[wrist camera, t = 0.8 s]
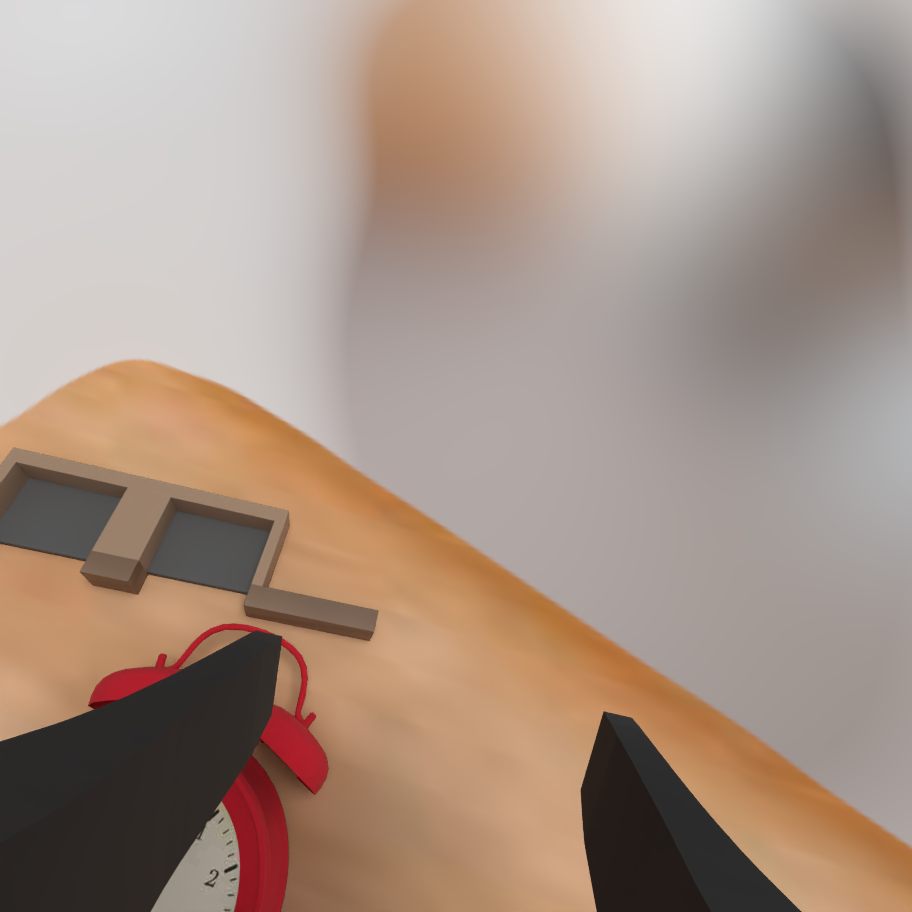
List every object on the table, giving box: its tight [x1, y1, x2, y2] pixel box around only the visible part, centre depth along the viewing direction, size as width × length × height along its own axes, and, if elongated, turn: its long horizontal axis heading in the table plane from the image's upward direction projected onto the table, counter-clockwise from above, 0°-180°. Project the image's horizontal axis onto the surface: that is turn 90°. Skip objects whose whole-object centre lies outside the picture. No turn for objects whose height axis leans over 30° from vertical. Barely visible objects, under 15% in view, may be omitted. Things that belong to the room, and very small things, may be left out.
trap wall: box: [80, 551, 378, 641], centre depth 19 cm, size 19×21×2 cm
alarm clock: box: [88, 624, 329, 912], centre depth 19 cm, size 10×6×15 cm
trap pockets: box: [0, 448, 290, 594], centre depth 25 cm, size 4×13×2 cm, turn 83°
